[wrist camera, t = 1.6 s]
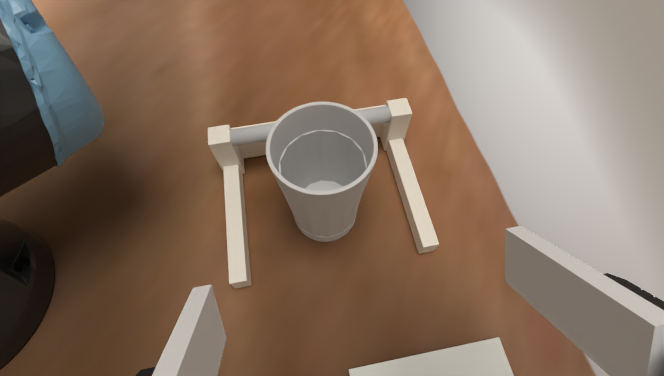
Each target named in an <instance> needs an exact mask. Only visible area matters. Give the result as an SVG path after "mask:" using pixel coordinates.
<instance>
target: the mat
mask: <svg viewBox="0 0 664 376" xmlns="http://www.w3.org/2000/svg"><path fill="white" fill-rule="evenodd" d="M349 375H350V376H514V375H513V373H512V370H511V367H510V365H509V362H508V360H507V357H506V354H505V352H504V349H503V346H502V344H501V341H500V339H499V337H497V338H493V339H488V340H483V341H479V342H474V343H469V344H465V345H460V346H455V347H451V348H446V349H441V350H437V351H432V352H427V353H423V354H418V355H413V356H409V357H404V358H399V359H395V360H390V361H385V362H381V363H376V364H371V365H367V366H362V367H357V368H353V369H349Z"/></svg>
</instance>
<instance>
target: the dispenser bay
mask: <svg viewBox="0 0 664 376" xmlns="http://www.w3.org/2000/svg"><path fill="white" fill-rule="evenodd" d="M354 110H355V111H357V112H358V113H360V114H361V115H362V116H363V117H364V118H365V119H366V120H367V121H368V122H369V123H370V125H371V126H372V128H373V130H374V132H375V134H376V137H380V139H381V143H382V146H383V149H384V151H387V155H388V158H389V161H390V164H391V167H392V170H393V174H394V177H395V180H396V183H397V186H398V190H399V193H400V196H401V199H402V202H403V206H404V209H405V212H406V215H407V218H408V222H409V225H410V228H411V231H412V234H413V238H414V241H415V244H416V247H417V250H418V253H419V254H420V253H425V252H431V251H434V250H435V249H436V248H437V246H438V245H439V242H438V239H437V236H436V234H435V231H434V228H433V225H432V222H431V219H430V216H429V213H428V210H427V208H426V205H425V202H424V199H423V196H422V193H421V190H420V187H419V184H418V182H417V179H416V176H415V173H414V170H413V167H412V164H411V161H410V158H409V156H408V153H407V150H406V147H405V144H404V139H405V136H406V132H407V129H408V126H409V123H410V119H411V116H412V111H411V109H410V106H409V103H408V101H407V98H403V99H396V100H389V101H387V103H386V105H381V106H374V107H367V108H361V109H354ZM275 123H276V121H275V122H269V123H262V124H255V125H249V126H242V127H236V128H230V126H229V125H223V126H217V127H210V128H208V145H209V147H210V149H211V151H212V153H213V154H214V156H215V158H216V160H217V161H218V163H219V165H220V167H221V169H222V170H223V172H224V190H225V210H226V229H227V249H228V269H229V284H230V285H231V286H233V287H234V288H235V289H236V288H241V287H246V286H251V273H250V260H249V248H248V235H247V223H246V210H245V198H244V185H243V174H245V169H244V158H250V157H256V156H263V155H266V141H267V137H268V134H269V132H270V130H271V128H272V127H273V125H274V124H275Z"/></svg>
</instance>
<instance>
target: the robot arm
mask: <svg viewBox="0 0 664 376" xmlns="http://www.w3.org/2000/svg"><path fill="white" fill-rule="evenodd" d="M104 124H105V117H104V113H103V110H102V108H101V106H100V105H99V103H98V101H97V99H96V98H95V96H94V94H93V93H92V91H91V89H90V88H89V86H88V85H87V83H86V81H85V80H84V78H83V77H82V75H81V74H80V72H79V71H78V69H77V68H76V66H75V65H74V63H73V61H72V60H71V58H70V57H69V55H68V54H67V52H66V51H65V49H64V48H63V46H62V45H61V43H60V42H59V41H58V39H57V38H56V36H55V35H54V33H53V32H52V31H51V29H50V28H49V27H48V26H47V24H46V23H45V20H44V19H43V17H42V16H41V14H40V13H39V12H38V10H37V9H36V7H35V6H34V4H33V2H32V0H0V197H1V196H3V195H4V194H6V193H8V192H10V191H11V190H13V189H15V188H17V187H19V186H20V185H22V184H24V183H26V182H27V181H29V180H31V179H33V178H34V177H36V176H38V175H40V174H41V173H43V172H45V171H47V170H48V169H50V168H52V167H54V166H60V165H62V163H64V162H65V160H66V158H67V157H69V156H70V155H72V154H73V153H75V152H76V151H78V150H80V149H81V148H83V147H84V146H86V145H87V144H89V143H91V142H92V141H94V140H95V139H96V138H98V136H99V135H100V134H101V133H102V131H103V128H104ZM505 282H506V283H507V284H508V285H509V286H510V287H512V288H513V289H514V290H515V291H516V292H517V293H518V294H519V295H520V296H522V297H523V298H524V299H525V300H526V301H527V302H528V303H529V304H530V305H532V306H533V307H534V308H535V309H536V310H537V311H538V312H539V313H541V314H542V315H543V316H544V317H545V318H546V319H547V320H548V321H549V322H551V323H552V324H553V325H554V326H555V327H556V328H557V329H558V330H559V331H561V332H562V333H563V334H564V335H565V336H566V337H567V338H568V339H569V340H571V341H572V342H573V343H574V344H575V345H576V346H577V347H578V348H580V349H581V350H582V351H583V352H584V353H585V354H586V355H587V356H588V357H590V358H591V359H592V360H593V361H594V362H595V363H596V364H598V366H600V367H601V368H602V369H603V370H604V371H605V372H606V373H607V374H609V375H610V376H664V301H662V300H660V299H658V298H657V297H655V298H654V297H653V295H651V294H650V293H648V292H646V291H644V290H641V289H640V288H639V287H637V286H636V285H634V284H632V283H630V282H629V281H627V280H625V279H622V278H619V277H616V276H613V275H611V274H608V273H607V274H602V273H600V272H598V271H597V270H595V269H593V268H592V267H590V266H588V265H587V264H585V263H583V262H582V261H580V260H578V259H577V258H575V257H573V256H571V255H570V254H568V253H567V252H565V251H563V250H561V249H560V248H558V247H556V246H555V245H553V244H551V243H550V242H548V241H546V240H545V239H543V238H541V237H540V236H538V235H536V234H534V233H533V232H531V231H530V230H528V229H526V228H525V227H523V226H517V227H512V228H507V229H505ZM53 284H54V264H53V259H52V256H51V253H50V251H49V249H48V247H47V245H46V244H45V243H44V241H43V240H42V239H41V238H40V237H39V236H37V235H36V234H35V233H33V232H31V231H29V230H27V229H25V228H23V227H21V226H18V225H16V224H14V223H12V222H9V221H6V220H2V219H0V368H1V367H3V366H4V365H5V364H6V363H7V362H8V361H9V360H10V359H11V358H12V357H13V356H14V355H15V354H16V353H17V352H18V351H19V350H20V349H21V348H22V347H23V346H24V344H25V343H26V342H27V341H28V339H29V338H30V337H31V335H32V334H33V332H34V331H35V329H36V328H37V326H38V324H39V323H40V321H41V319H42V317H43V315H44V313H45V311H46V309H47V306H48V304H49V301H50V298H51V294H52V290H53ZM225 342H226V334H225V331H224V327H223V324H222V320H221V316H220V313H219V309H218V306H217V302H216V299H215V295H214V292H213V288H212V285H206V286H200V287H195V288H193V289H192V291H191V293H190V295H189V298H188V300H187V302H186V304H185V306H184V308H183V310H182V312H181V315H180V317H179V319H178V321H177V323H176V325H175V327H174V330H173V332H172V334H171V336H170V338H169V340H168V342H167V345H166V347H165V349H164V351H163V353H162V355H161V357H160V359H159V362H158V364H157V366H156V367H153V368H148V369H143V370H140V371H139V372H138V374H137V375H136V376H217V375H218V371H219V367H220V363H221V359H222V355H223V350H224V346H225Z"/></svg>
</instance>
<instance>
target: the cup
mask: <svg viewBox="0 0 664 376" xmlns="http://www.w3.org/2000/svg"><path fill="white" fill-rule="evenodd" d="M377 153H378V142H377V137H376V134H375V132H374V130H373V128H372V126H371V125H370V123H369V122H368V121H367V120H366V119H365V118H364V117H363V116H362V115H361V114H360V113H358V112H357V111H355V110H354V109H352V108H350V107H347V106H345V105H342V104H338V103H333V102H312V103H307V104H303V105H300V106H298V107H295V108H293V109H291V110H290V111H288V112H287V113H285V114H284V115H283V116H281V117H280V118H279V119H278V120H277V121H276V123H275V124H274V125H273V127H272V128H271V130H270V132H269V134H268V137H267V141H266V157H267V161H268V164H269V166H270V168H271V170H272V172H273V174H274V176H275V178H276V180H277V182H278V184H279V186H280V188H281V190H282V192H283V194H284V196H285V198H286V200H287V202H288V204H289V207H290V209H291V211H292V213H293V215H294V218H295V221H296V224H297V226H298V228H299V229H300V231H301V232H302V233H303V234H304V235H306V236H307V237H309V238H311V239H313V240H316V241H321V242H329V241H334V240H337V239H339V238H341V237H343V236H344V235H346V234H347V233H348V232H349V231H350V230H351V228H352V227H353V225H354V223H355V219H356V214H357V209H358V206H359V203H360V200H361V197H362V194H363V191H364V188H365V187H366V185H367V182H368V180H369V177H370V175H371V172H372V169H373V167H374V164H375V161H376V158H377Z"/></svg>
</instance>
